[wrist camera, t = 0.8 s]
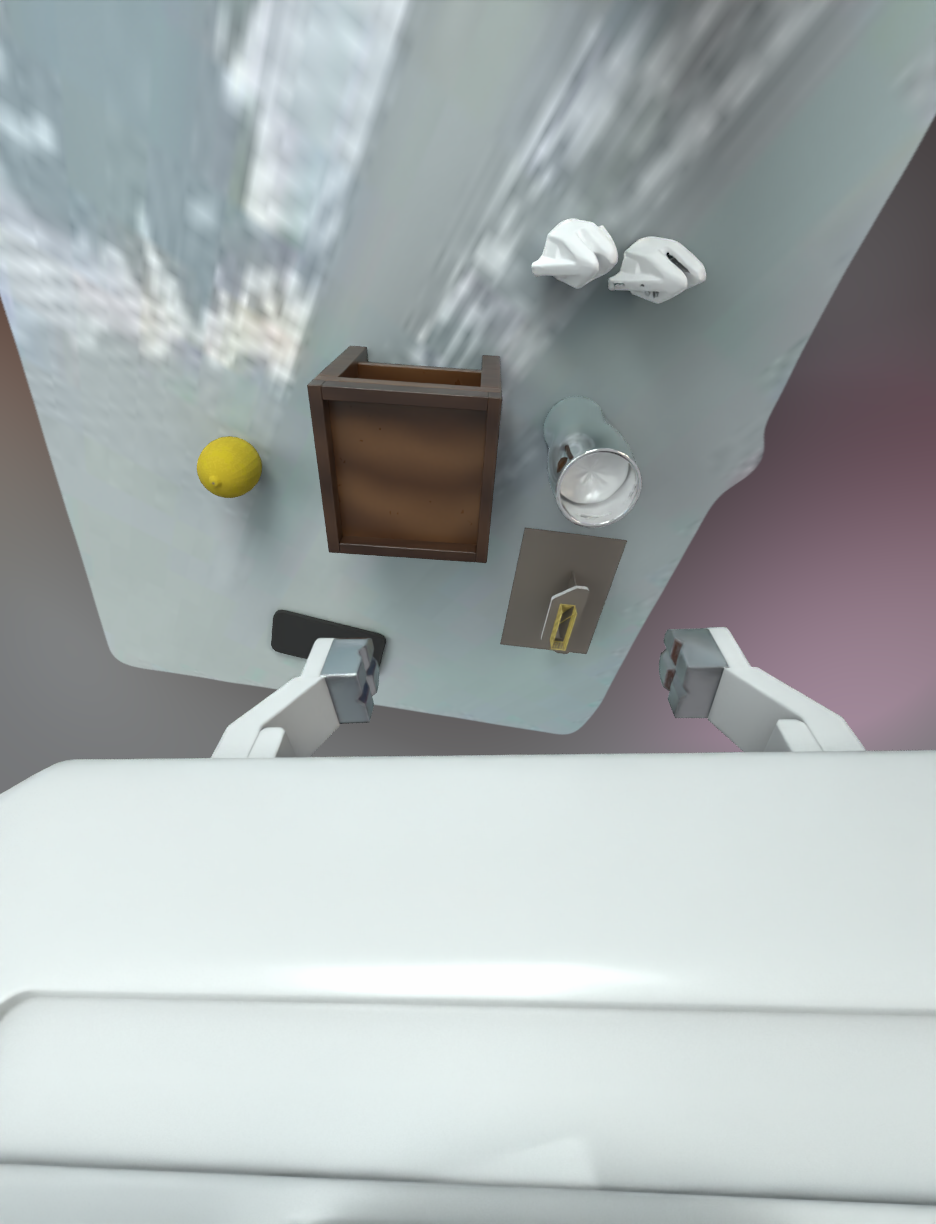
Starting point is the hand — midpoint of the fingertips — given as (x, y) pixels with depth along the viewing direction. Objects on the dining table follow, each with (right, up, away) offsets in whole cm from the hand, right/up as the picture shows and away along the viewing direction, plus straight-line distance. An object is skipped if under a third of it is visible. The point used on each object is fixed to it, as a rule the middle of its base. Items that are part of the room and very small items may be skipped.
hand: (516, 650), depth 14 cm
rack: (-6, +20, +37) cm, 43 cm away
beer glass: (+9, +20, +37) cm, 43 cm away
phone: (-20, -3, +56) cm, 59 cm away
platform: (+10, +3, +50) cm, 51 cm away
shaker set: (+10, +31, +28) cm, 43 cm away
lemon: (-25, +18, +40) cm, 50 cm away
